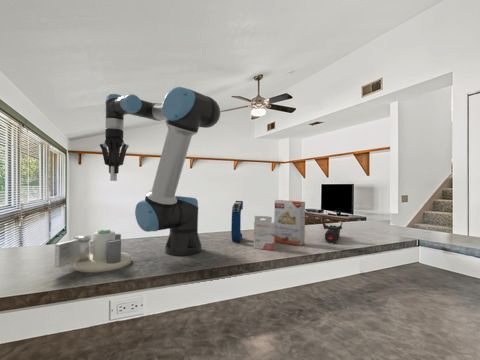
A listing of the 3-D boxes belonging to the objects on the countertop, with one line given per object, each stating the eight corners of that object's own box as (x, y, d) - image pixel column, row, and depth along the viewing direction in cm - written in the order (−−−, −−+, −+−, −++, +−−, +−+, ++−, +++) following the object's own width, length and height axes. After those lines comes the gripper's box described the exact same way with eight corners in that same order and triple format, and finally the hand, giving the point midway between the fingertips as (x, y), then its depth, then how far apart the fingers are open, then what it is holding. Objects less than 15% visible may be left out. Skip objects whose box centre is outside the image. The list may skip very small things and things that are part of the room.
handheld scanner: (243, 237, 146) (243, 200, 147) (240, 244, 130) (240, 203, 131) (234, 237, 147) (234, 200, 147) (231, 243, 131) (230, 202, 131)
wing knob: (82, 257, 97) (82, 234, 97) (94, 258, 96) (95, 235, 96) (49, 268, 85) (50, 242, 85) (63, 269, 83) (64, 243, 83)
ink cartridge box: (274, 247, 124) (275, 215, 124) (271, 250, 119) (272, 216, 120) (256, 246, 127) (257, 214, 127) (253, 248, 123) (253, 215, 123)
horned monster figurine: (343, 237, 153) (344, 219, 153) (341, 245, 132) (341, 224, 132) (325, 235, 157) (326, 218, 157) (320, 243, 136) (320, 223, 136)
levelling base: (130, 255, 108) (130, 224, 108) (132, 268, 92) (132, 231, 92) (77, 259, 101) (78, 226, 101) (69, 275, 84) (70, 235, 84)
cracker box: (273, 242, 136) (274, 200, 136) (278, 240, 141) (279, 199, 141) (300, 246, 128) (300, 201, 128) (304, 244, 133) (305, 201, 133)
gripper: (132, 130, 128) (131, 181, 128) (105, 130, 129) (105, 180, 129) (123, 127, 120) (122, 180, 120) (96, 127, 122) (95, 180, 122)
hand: (113, 180), depth 125 cm, fingers closed
